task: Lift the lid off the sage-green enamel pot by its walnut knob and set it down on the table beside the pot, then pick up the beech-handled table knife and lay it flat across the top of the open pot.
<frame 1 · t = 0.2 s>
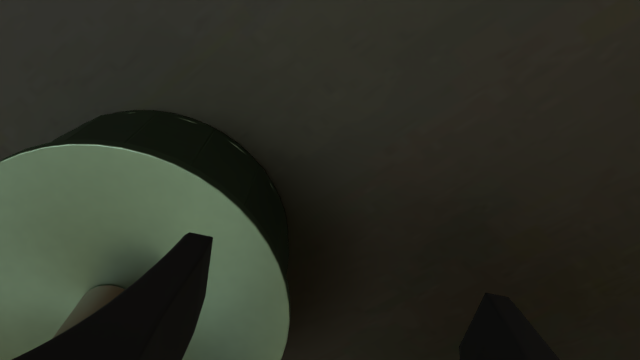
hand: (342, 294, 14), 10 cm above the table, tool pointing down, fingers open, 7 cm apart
pot: (160, 234, 25), on the table
lid: (118, 303, 20), point 5 cm above the table, touching pot
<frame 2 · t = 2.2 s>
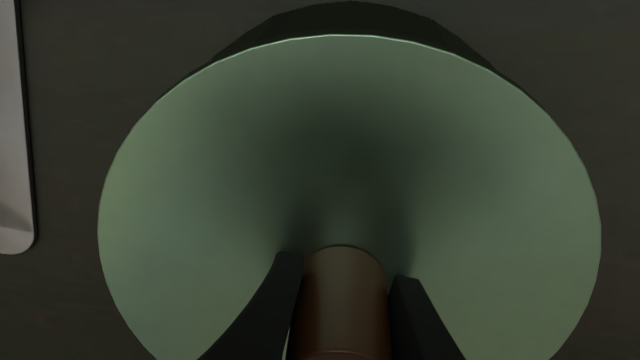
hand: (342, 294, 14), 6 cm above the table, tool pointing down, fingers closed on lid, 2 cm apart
pot: (346, 174, 19), on the table
lid: (342, 268, 14), point 5 cm above the table, touching gripper, pot
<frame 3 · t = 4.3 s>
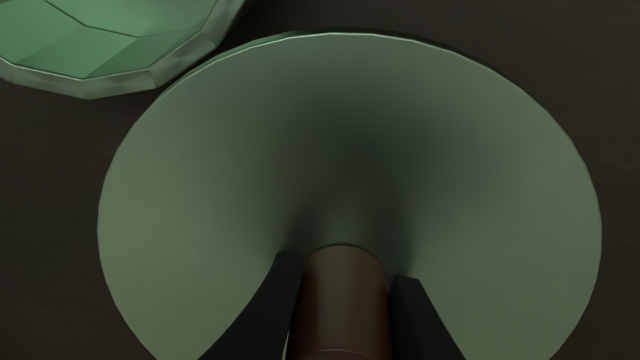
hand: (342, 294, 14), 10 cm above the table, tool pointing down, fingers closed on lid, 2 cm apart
lid: (342, 268, 14), point 9 cm above the table, touching gripper
when the fingers open (2 cm above the table, at t = 6.7 s): lid stays where it is, point 1 cm above the table.
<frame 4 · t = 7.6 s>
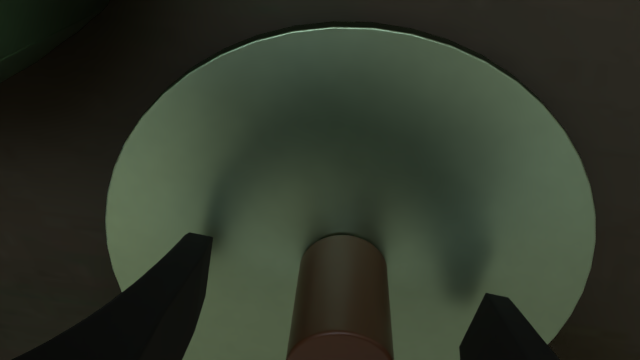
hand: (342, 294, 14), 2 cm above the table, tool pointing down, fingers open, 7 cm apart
lid: (343, 257, 15), point 1 cm above the table
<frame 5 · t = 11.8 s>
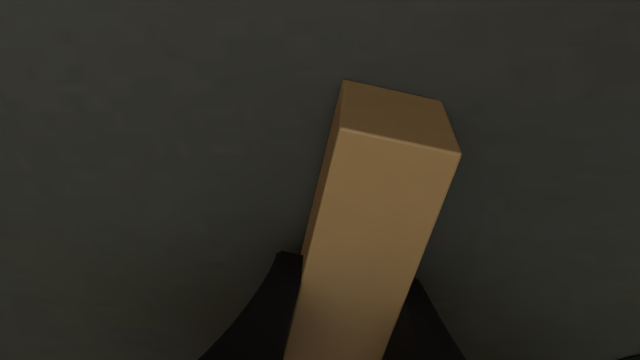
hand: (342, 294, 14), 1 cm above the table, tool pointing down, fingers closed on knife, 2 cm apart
knife: (318, 340, 16), on the table, touching gripper
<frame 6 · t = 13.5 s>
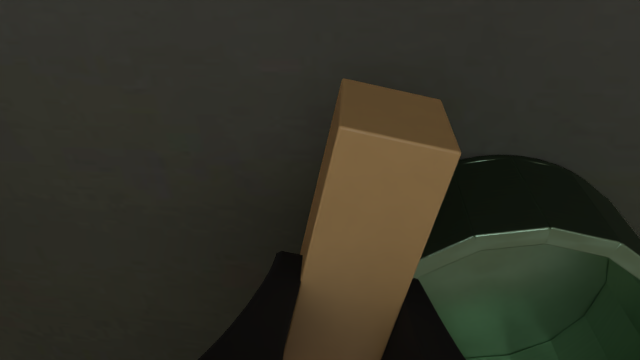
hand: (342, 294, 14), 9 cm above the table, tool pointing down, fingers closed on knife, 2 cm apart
knife: (318, 339, 16), point 8 cm above the table, touching gripper
pot: (483, 269, 25), on the table
when the fingers open (7 cm above the table, at t = 15.4 s): knife stays where it is, resting on pot.
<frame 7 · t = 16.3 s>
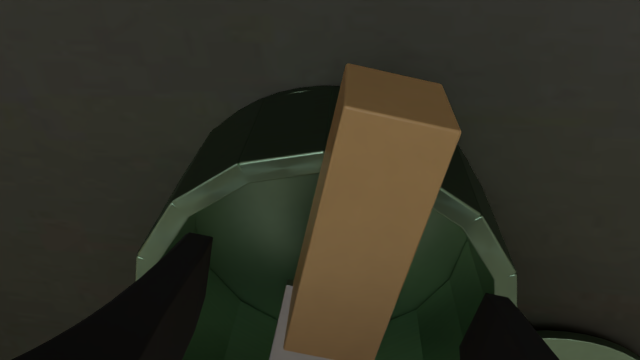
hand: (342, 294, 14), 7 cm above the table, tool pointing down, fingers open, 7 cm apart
knife: (321, 322, 17), point 5 cm above the table, touching pot
pot: (329, 226, 22), on the table
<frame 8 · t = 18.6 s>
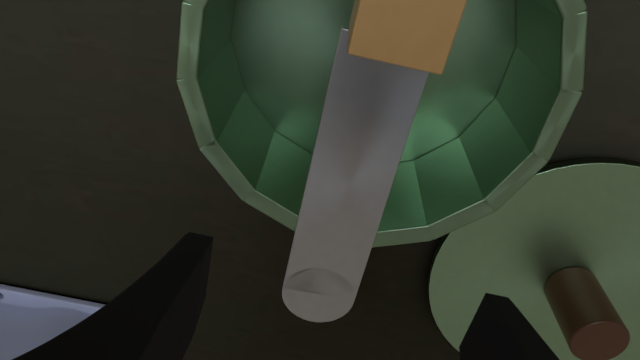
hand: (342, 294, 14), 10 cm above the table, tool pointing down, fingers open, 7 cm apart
knife: (375, 84, 16), point 5 cm above the table, touching pot
pot: (371, 39, 21), on the table
lid: (566, 279, 25), point 1 cm above the table
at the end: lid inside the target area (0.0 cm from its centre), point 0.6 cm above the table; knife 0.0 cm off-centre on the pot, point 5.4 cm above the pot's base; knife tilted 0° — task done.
